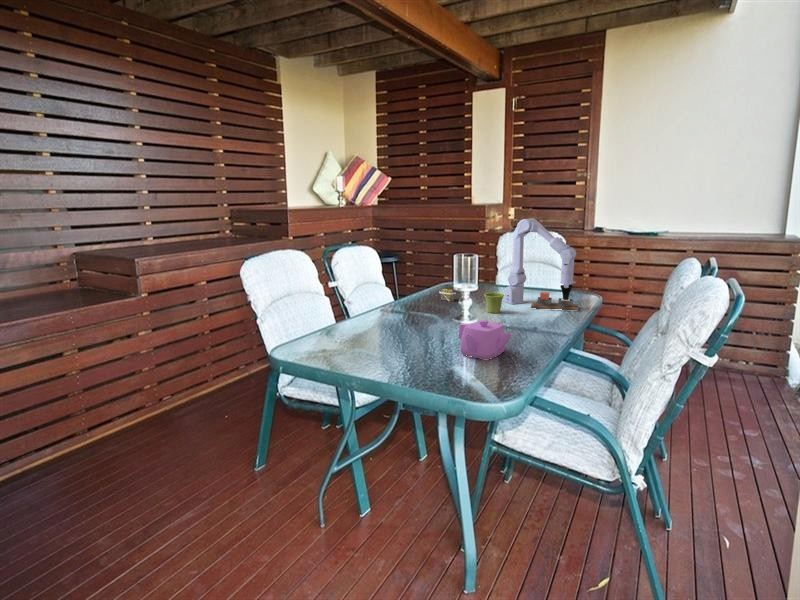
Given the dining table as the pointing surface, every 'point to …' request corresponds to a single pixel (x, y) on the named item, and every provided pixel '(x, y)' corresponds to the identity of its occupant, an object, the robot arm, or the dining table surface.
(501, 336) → the teakettle
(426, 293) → the dining table surface
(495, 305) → the plant pot
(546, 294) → the red button
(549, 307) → the block
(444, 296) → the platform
